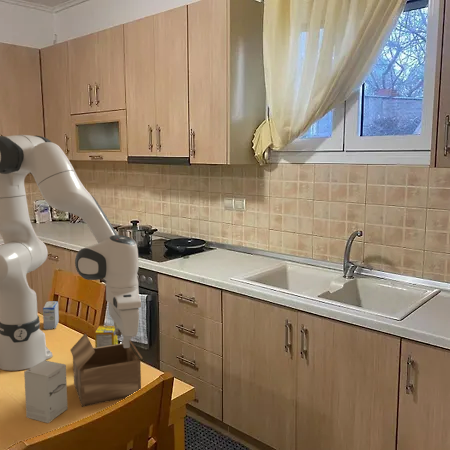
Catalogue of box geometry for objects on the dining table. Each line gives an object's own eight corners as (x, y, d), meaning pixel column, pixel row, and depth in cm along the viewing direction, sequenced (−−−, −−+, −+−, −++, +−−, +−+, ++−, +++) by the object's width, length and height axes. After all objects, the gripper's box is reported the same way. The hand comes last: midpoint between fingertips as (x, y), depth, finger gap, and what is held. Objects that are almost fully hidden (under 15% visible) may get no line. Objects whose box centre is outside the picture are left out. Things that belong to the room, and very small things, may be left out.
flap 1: (71, 350, 138) (70, 349, 138) (86, 334, 139) (85, 333, 139) (79, 370, 126) (77, 369, 126) (95, 352, 127) (93, 351, 127)
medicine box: (47, 322, 189) (46, 301, 188) (59, 321, 190) (58, 300, 189) (43, 329, 182) (42, 307, 180) (55, 329, 183) (54, 307, 181)
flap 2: (118, 326, 143) (120, 325, 143) (128, 341, 145) (130, 340, 145) (130, 342, 131) (131, 341, 131) (141, 359, 133) (142, 358, 133)
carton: (74, 383, 140) (72, 351, 139) (128, 373, 147) (127, 342, 145) (81, 407, 128) (80, 371, 126) (141, 394, 134) (140, 360, 133)
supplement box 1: (48, 424, 120) (46, 376, 118) (25, 417, 122) (22, 370, 120) (68, 409, 126) (66, 363, 124) (46, 403, 129) (44, 359, 127)
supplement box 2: (118, 357, 158) (117, 325, 157) (114, 365, 153) (113, 332, 151) (100, 357, 158) (99, 325, 157) (95, 365, 152) (94, 332, 151)
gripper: (103, 284, 143) (103, 329, 145) (119, 306, 124) (119, 356, 127) (124, 282, 145) (124, 326, 148) (143, 303, 127) (142, 353, 129)
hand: (122, 340), depth 137 cm, fingers open, 8 cm apart
